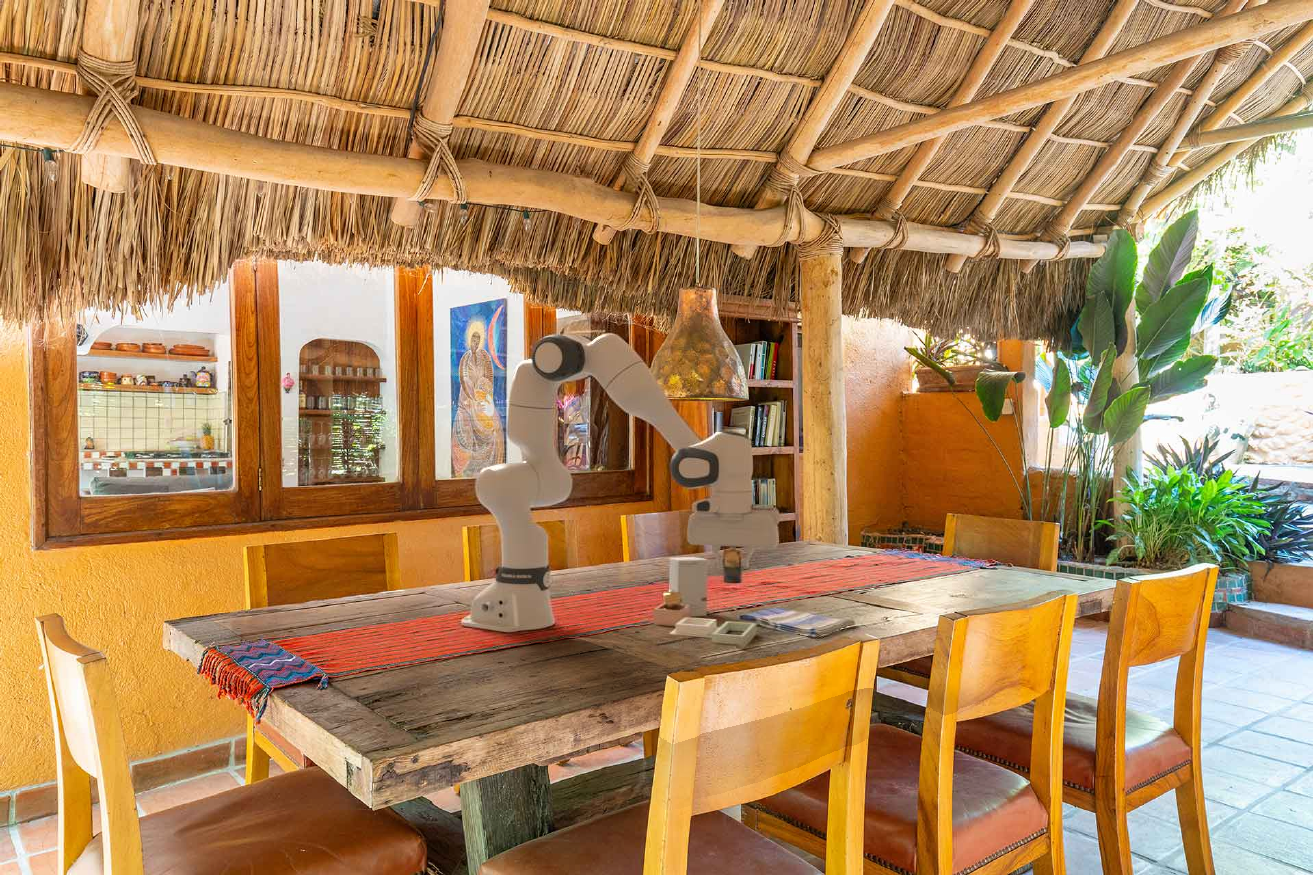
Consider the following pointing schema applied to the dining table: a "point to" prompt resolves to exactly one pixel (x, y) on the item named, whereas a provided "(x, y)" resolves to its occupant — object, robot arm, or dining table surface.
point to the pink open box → (670, 615)
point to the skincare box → (690, 582)
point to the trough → (739, 640)
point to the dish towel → (796, 622)
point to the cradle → (695, 627)
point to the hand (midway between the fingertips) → (732, 566)
